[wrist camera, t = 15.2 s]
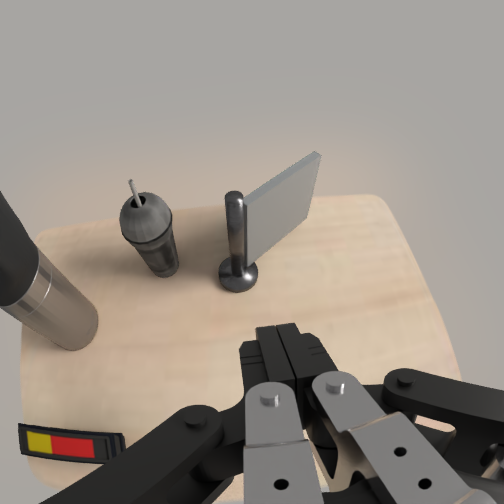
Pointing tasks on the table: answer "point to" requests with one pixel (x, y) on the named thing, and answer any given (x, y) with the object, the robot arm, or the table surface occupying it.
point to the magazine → (69, 444)
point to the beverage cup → (150, 231)
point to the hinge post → (236, 248)
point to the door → (278, 207)
